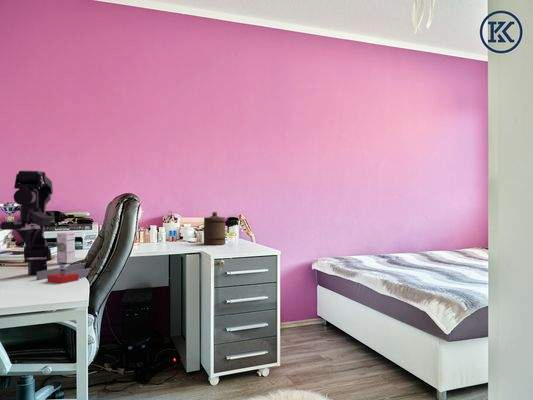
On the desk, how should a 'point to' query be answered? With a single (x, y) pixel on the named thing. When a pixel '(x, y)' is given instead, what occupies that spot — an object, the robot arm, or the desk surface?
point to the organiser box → (70, 269)
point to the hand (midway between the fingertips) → (29, 248)
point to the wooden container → (214, 230)
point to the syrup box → (65, 247)
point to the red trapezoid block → (62, 276)
